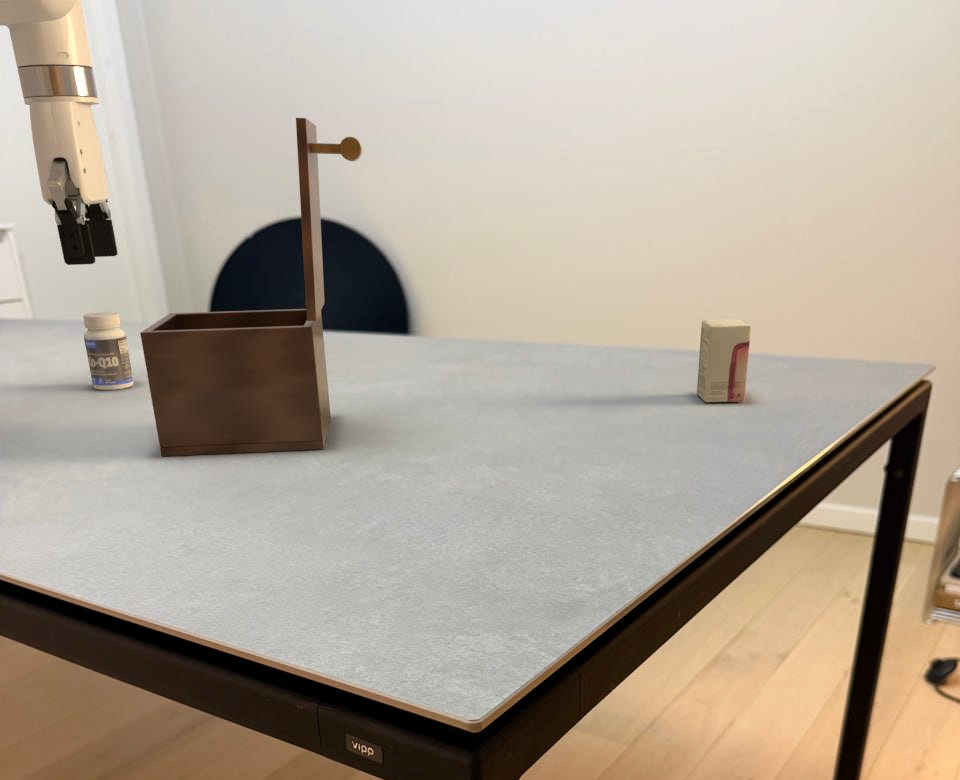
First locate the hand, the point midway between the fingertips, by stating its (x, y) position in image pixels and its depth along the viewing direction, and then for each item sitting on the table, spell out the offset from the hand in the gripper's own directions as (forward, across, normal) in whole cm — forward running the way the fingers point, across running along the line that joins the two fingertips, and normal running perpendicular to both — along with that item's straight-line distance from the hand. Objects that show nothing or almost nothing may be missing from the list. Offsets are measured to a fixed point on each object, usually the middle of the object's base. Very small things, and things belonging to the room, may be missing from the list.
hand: (92, 260), depth 110 cm
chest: (+14, +28, +20) cm, 37 cm away
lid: (-5, +28, +27) cm, 39 cm away
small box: (+15, +20, +69) cm, 73 cm away
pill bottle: (+14, 0, 0) cm, 15 cm away
